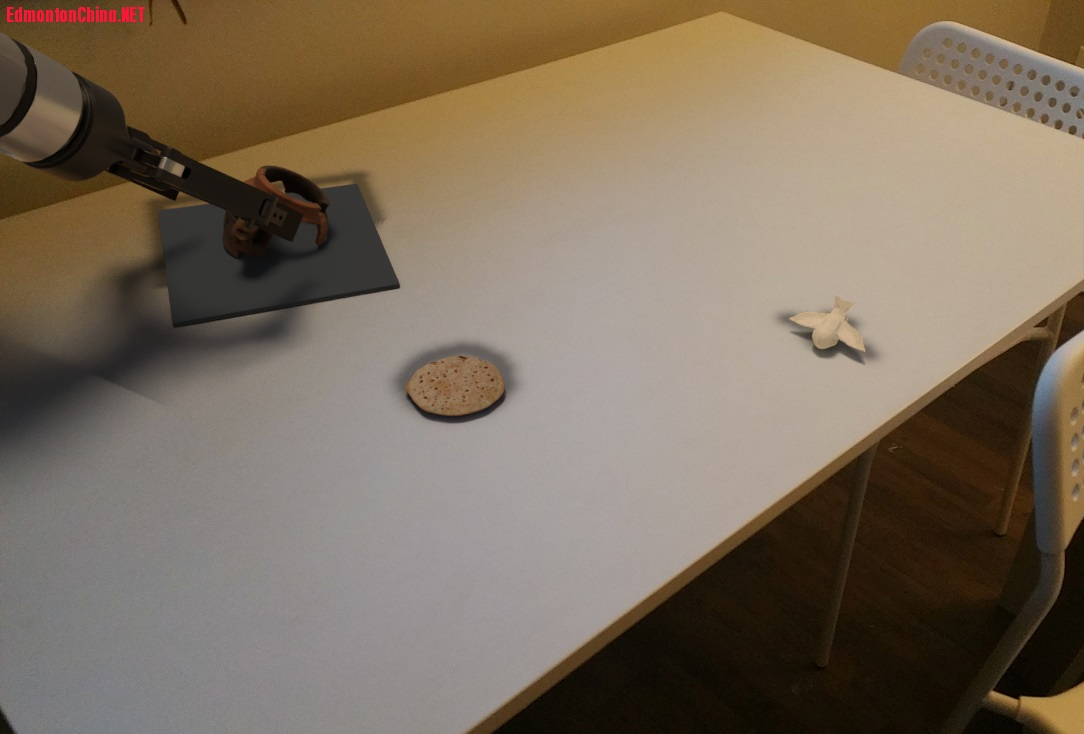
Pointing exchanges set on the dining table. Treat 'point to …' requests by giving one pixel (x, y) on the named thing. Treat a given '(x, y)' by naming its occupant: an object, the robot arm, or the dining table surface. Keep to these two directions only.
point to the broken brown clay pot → (293, 182)
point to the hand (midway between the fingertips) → (235, 206)
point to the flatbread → (456, 386)
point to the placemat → (271, 262)
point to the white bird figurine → (831, 326)
